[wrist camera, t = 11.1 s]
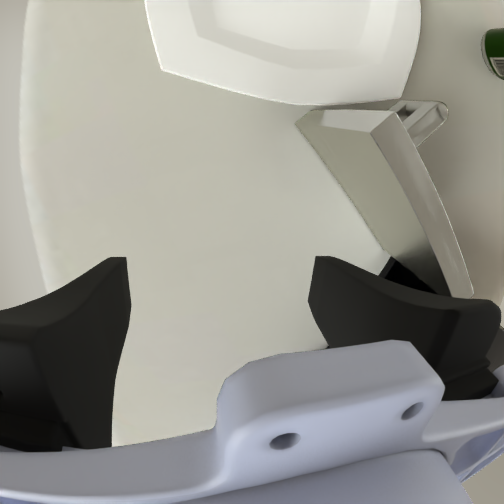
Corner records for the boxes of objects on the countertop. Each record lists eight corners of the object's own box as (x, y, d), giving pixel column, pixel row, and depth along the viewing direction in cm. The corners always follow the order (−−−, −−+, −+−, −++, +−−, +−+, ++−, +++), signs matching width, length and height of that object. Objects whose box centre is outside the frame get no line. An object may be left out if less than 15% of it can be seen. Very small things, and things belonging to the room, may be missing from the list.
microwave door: (362, 70, 19) (459, 58, 10) (435, 199, 24) (519, 241, 15) (293, 123, 20) (369, 132, 11) (382, 249, 25) (457, 311, 16)
